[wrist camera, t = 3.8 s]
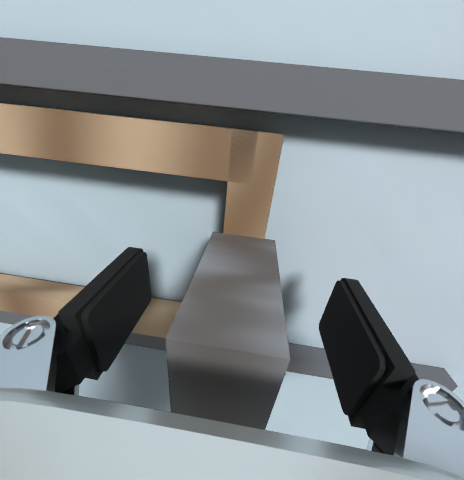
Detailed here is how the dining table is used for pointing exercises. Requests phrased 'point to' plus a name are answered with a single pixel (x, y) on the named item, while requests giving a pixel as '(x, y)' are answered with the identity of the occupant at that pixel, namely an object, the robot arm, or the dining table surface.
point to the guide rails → (240, 98)
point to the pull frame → (210, 266)
